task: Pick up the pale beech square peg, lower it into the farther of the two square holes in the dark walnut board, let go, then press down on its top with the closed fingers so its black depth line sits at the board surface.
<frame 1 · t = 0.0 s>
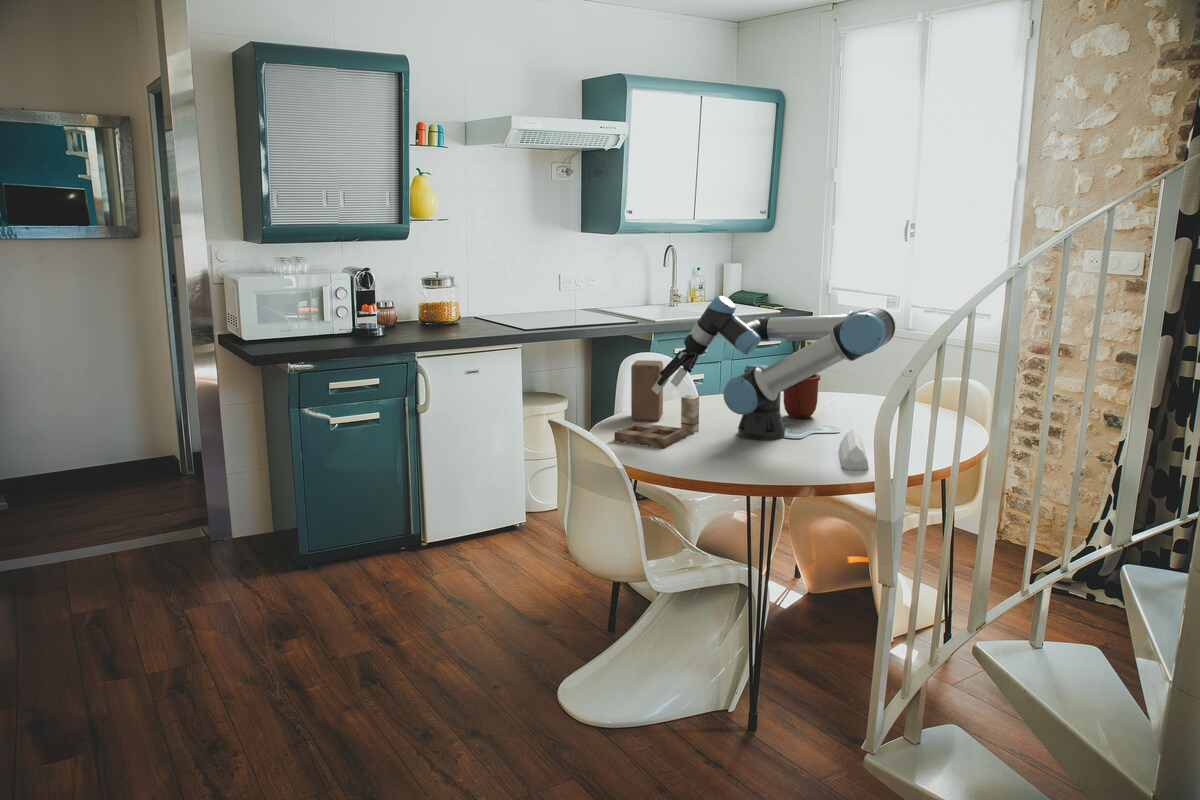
hand: (664, 388, 306), 15 cm above the table, tool tilted 35°, fingers open, 13 cm apart
crystal: (853, 461, 276), on the table
potted plant: (797, 415, 332), on the table
beech peg: (689, 432, 310), on the table
wooden block: (647, 418, 330), on the table
walnut board: (650, 439, 301), on the table
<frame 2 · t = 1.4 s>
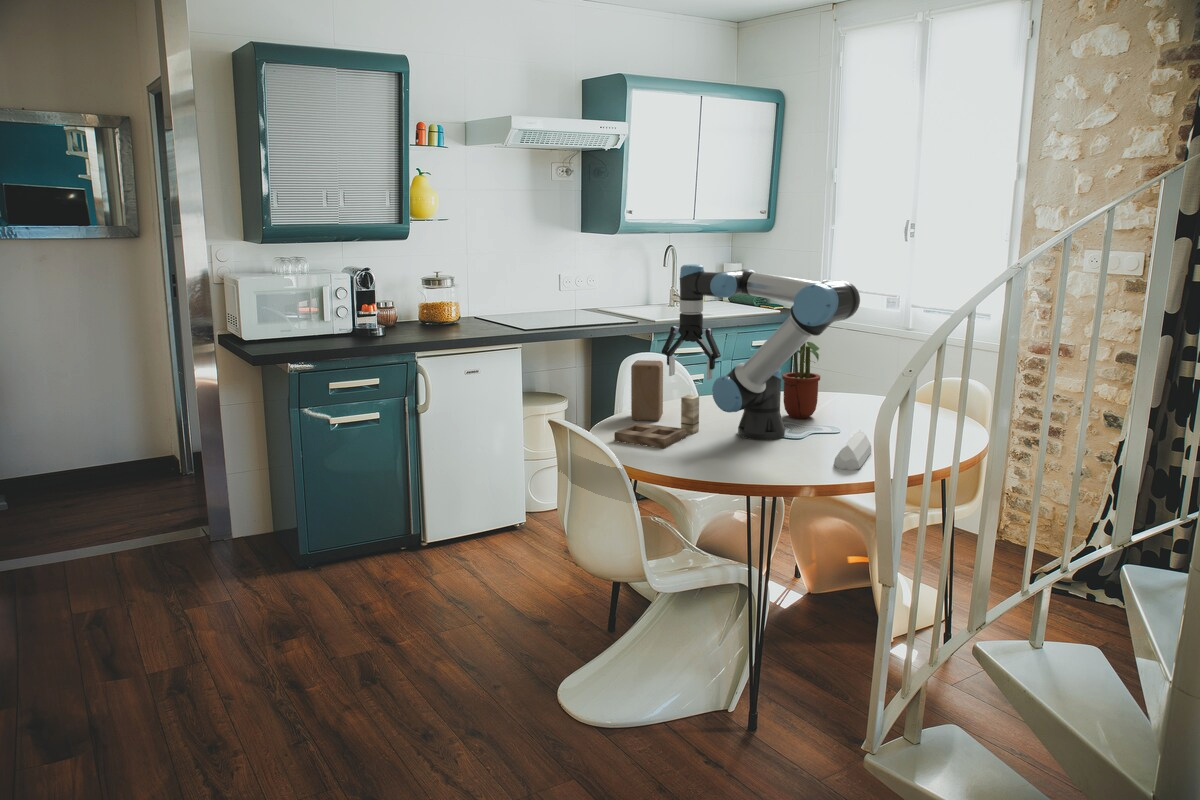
hand: (690, 377, 306), 19 cm above the table, tool pointing down, fingers open, 13 cm apart
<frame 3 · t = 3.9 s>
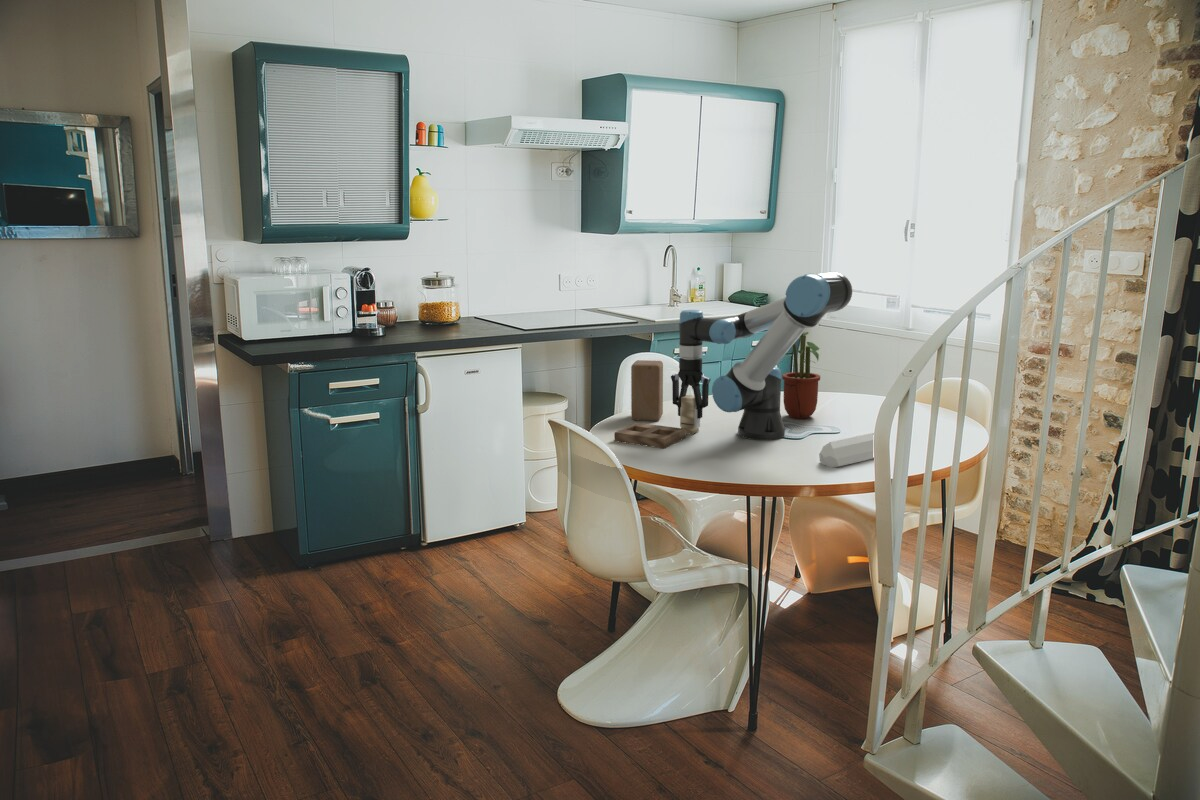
hand: (690, 426, 310), 2 cm above the table, tool pointing down, fingers closed on beech peg, 4 cm apart
beech peg: (689, 432, 310), on the table, touching gripper
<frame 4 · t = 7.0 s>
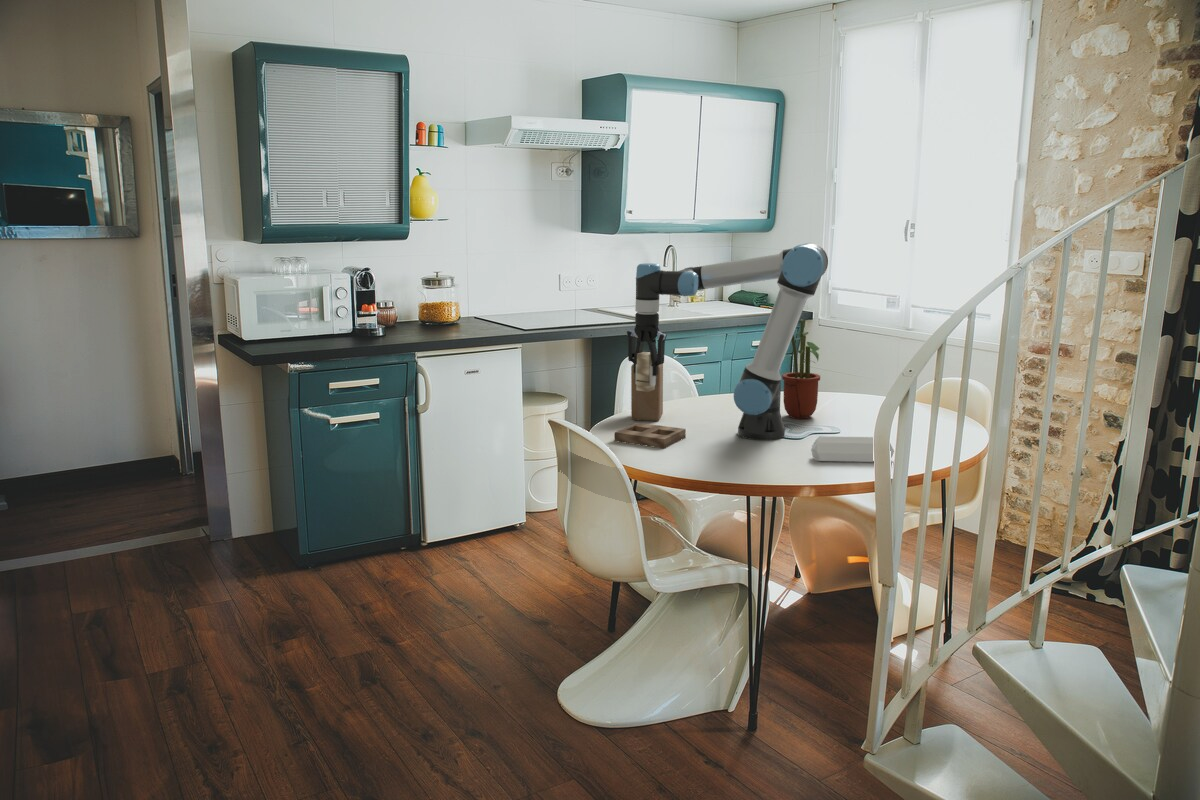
hand: (645, 384, 301), 17 cm above the table, tool pointing down, fingers closed on beech peg, 4 cm apart
beech peg: (645, 389, 302), point 16 cm above the table, touching gripper
when the fingers open (4 cm above the table, at t = 10.3 s): beech peg drops 2 cm, resting in walnut board.
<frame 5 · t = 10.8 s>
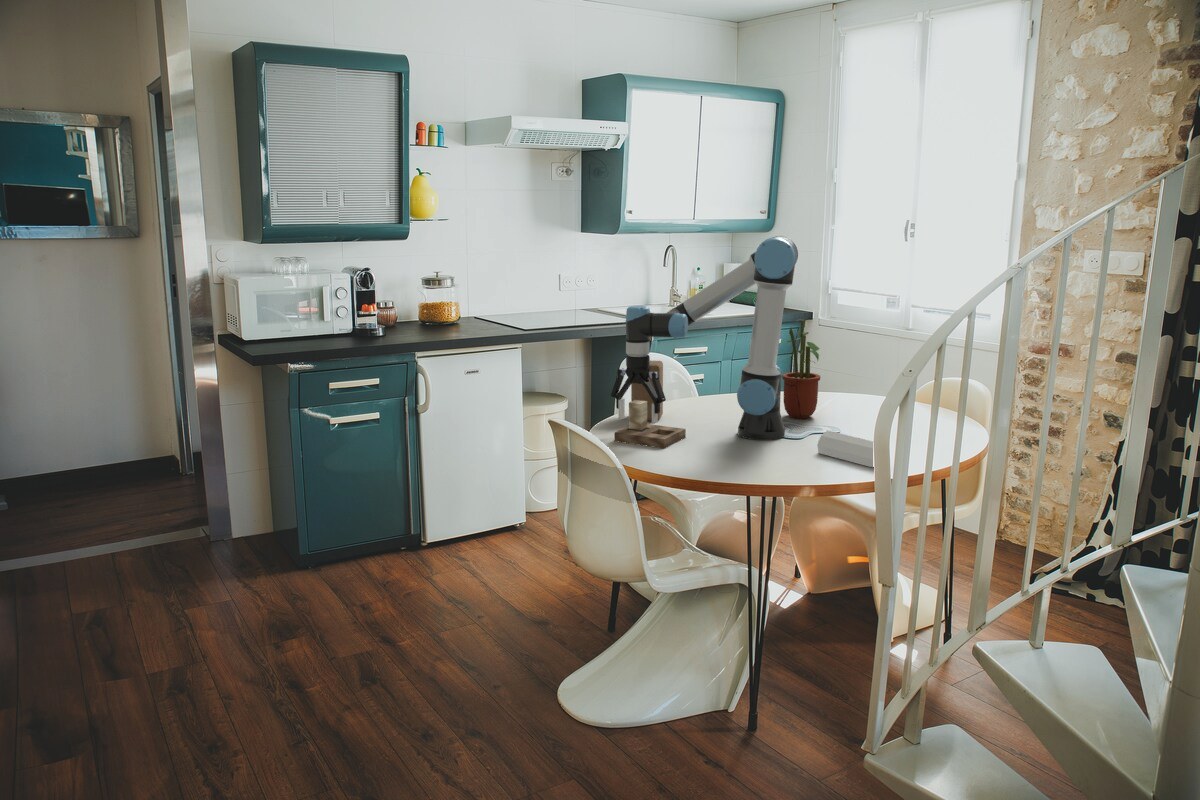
hand: (637, 420, 302), 6 cm above the table, tool pointing down, fingers open, 11 cm apart
beech peg: (638, 437, 303), resting in walnut board
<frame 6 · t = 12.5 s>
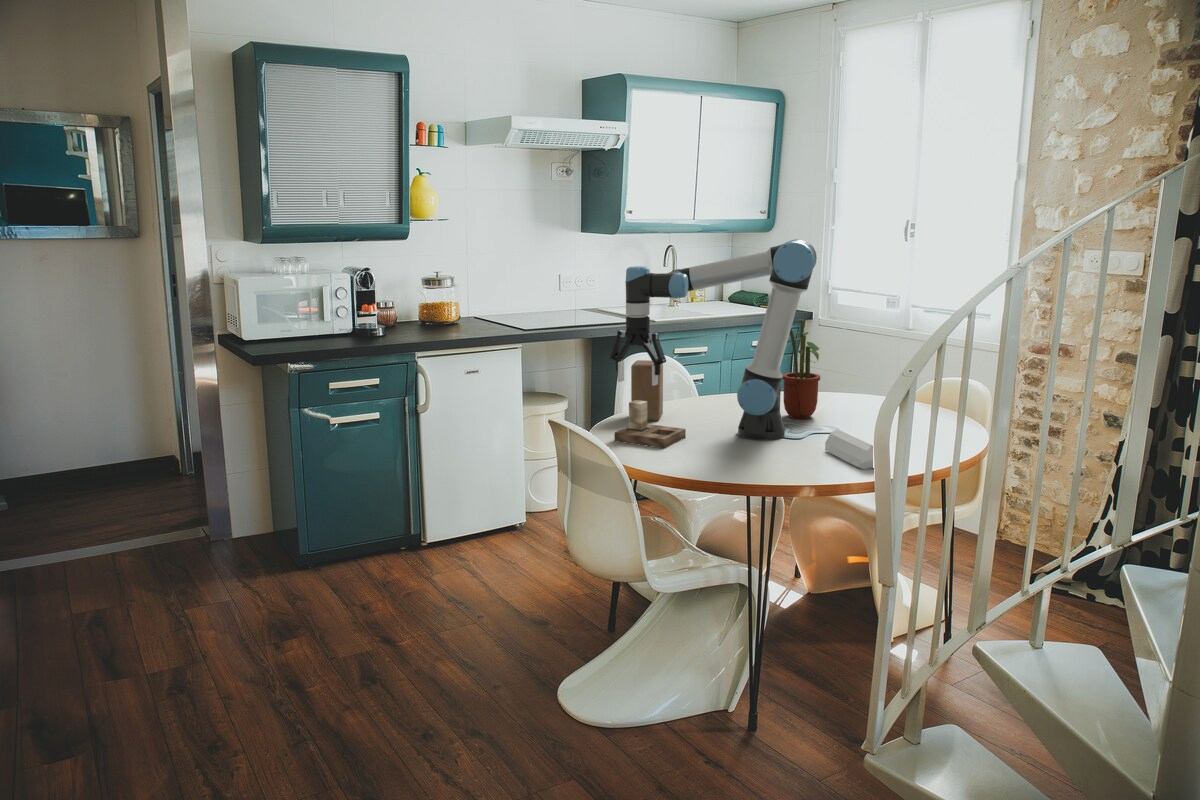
hand: (637, 383, 299), 18 cm above the table, tool pointing down, fingers open, 12 cm apart
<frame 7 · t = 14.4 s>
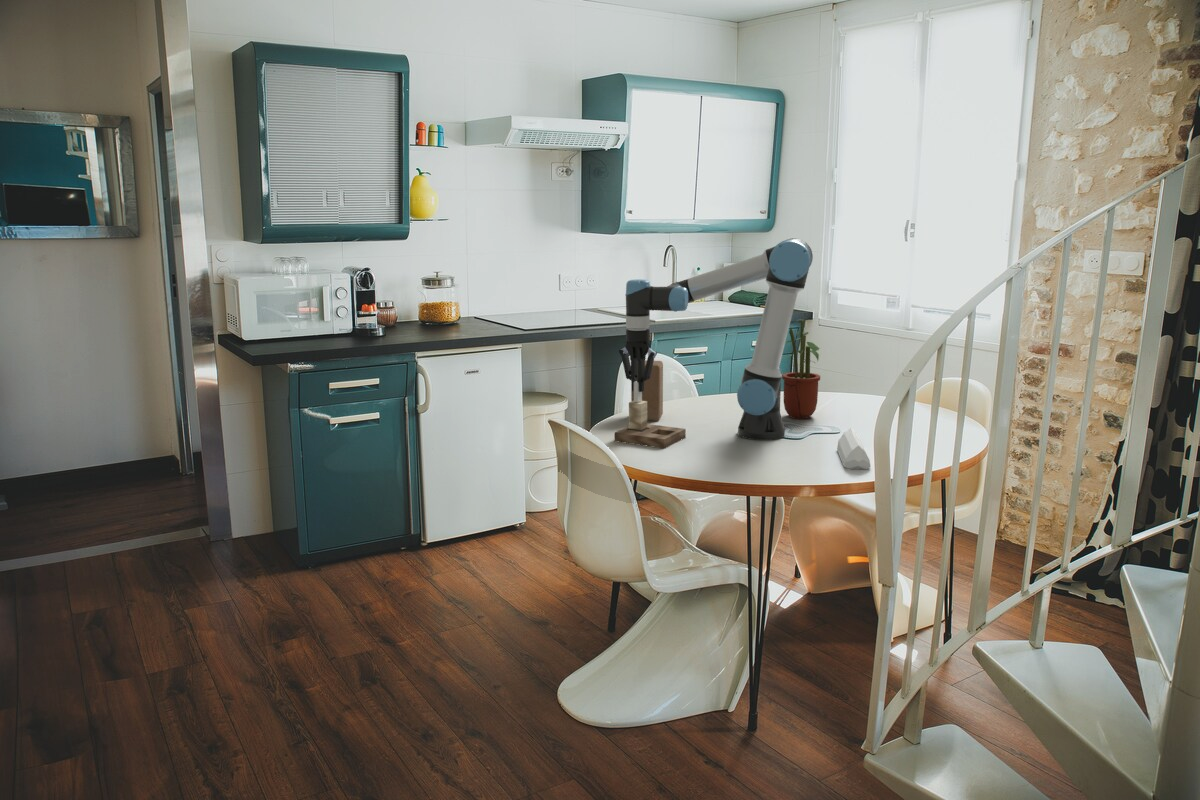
hand: (637, 401, 301), 12 cm above the table, tool pointing down, fingers closed
beech peg: (638, 437, 303), resting in walnut board, touching gripper
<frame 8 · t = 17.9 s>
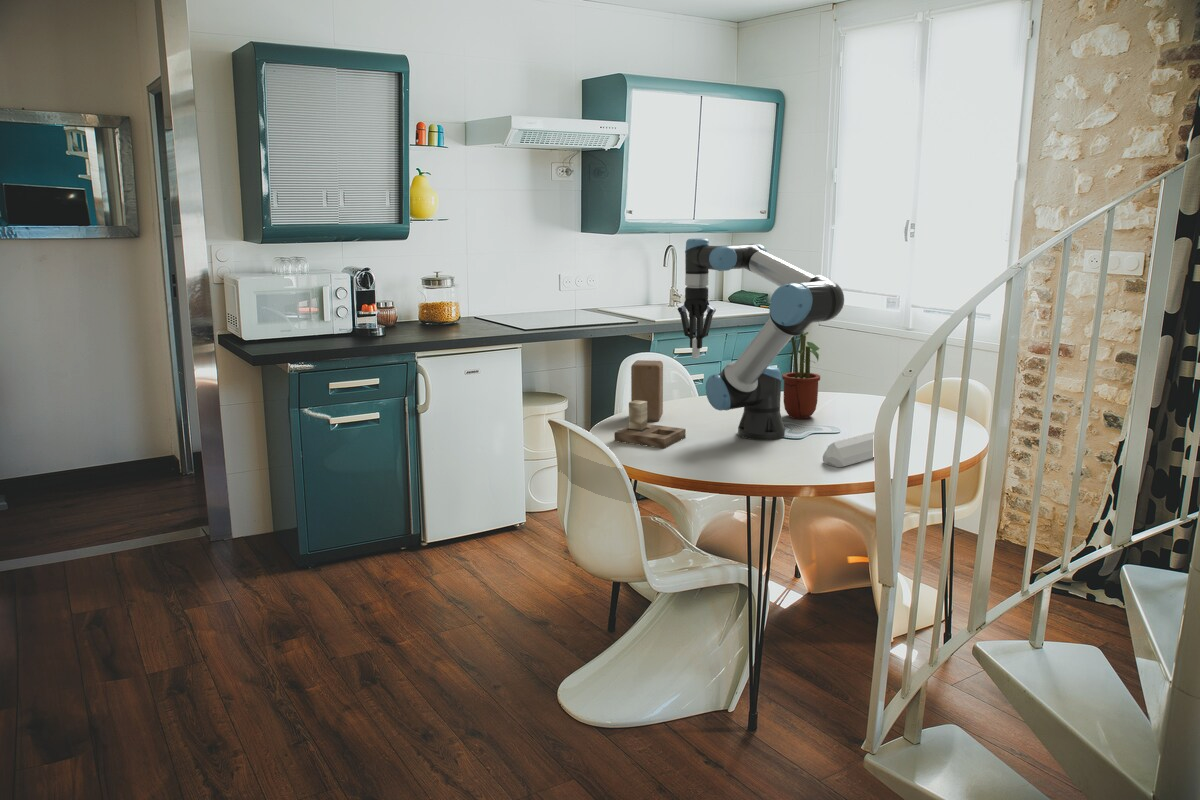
hand: (695, 357, 308), 24 cm above the table, tool pointing down, fingers closed
beech peg: (638, 437, 303), resting in walnut board
at the end: beech peg 0.1 cm from the target spot on the walnut board, point 0.0 cm above the walnut board's base; beech peg tilted 0°; the gripper is holding nothing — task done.
